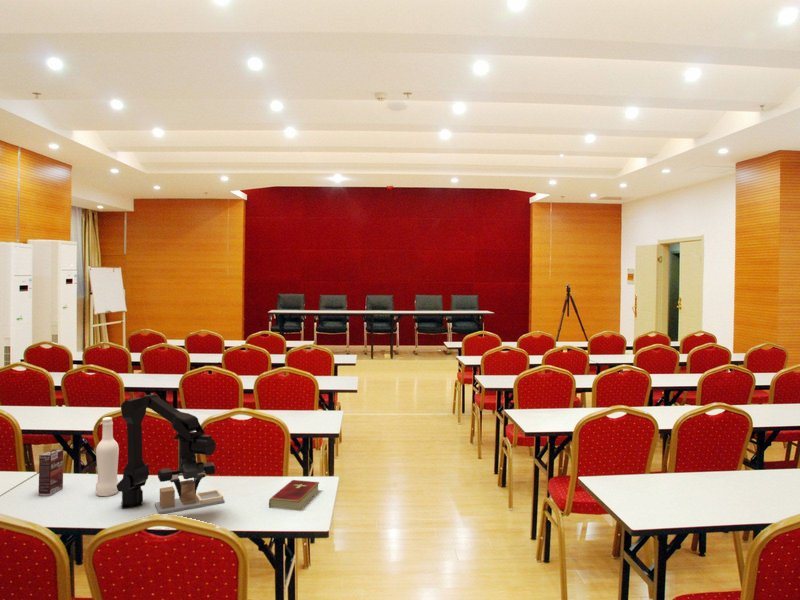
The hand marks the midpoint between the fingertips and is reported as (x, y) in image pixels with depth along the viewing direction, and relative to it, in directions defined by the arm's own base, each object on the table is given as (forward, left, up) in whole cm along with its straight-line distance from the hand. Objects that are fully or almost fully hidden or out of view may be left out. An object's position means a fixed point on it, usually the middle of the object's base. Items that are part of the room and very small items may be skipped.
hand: (187, 495), depth 199 cm
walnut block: (0, 0, -1) cm, 1 cm away
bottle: (-23, +37, -7) cm, 44 cm away
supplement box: (-42, +49, -7) cm, 65 cm away
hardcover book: (+39, -4, -8) cm, 40 cm away
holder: (+3, +10, -7) cm, 13 cm away
